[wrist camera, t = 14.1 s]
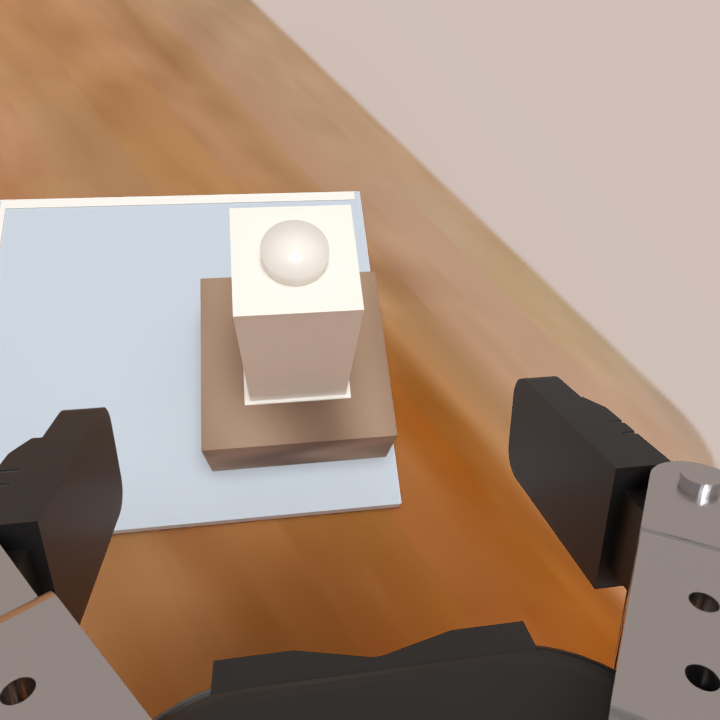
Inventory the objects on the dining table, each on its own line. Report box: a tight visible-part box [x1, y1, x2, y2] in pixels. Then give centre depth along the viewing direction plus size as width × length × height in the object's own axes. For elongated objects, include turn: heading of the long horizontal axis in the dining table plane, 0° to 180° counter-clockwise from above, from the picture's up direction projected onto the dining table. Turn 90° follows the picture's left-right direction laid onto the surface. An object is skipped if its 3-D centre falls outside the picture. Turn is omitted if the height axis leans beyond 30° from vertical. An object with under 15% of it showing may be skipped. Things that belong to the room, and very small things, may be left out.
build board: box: [0, 191, 402, 534], centre depth 32 cm, size 22×20×5 cm
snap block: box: [229, 205, 364, 401], centre depth 25 cm, size 4×4×9 cm
